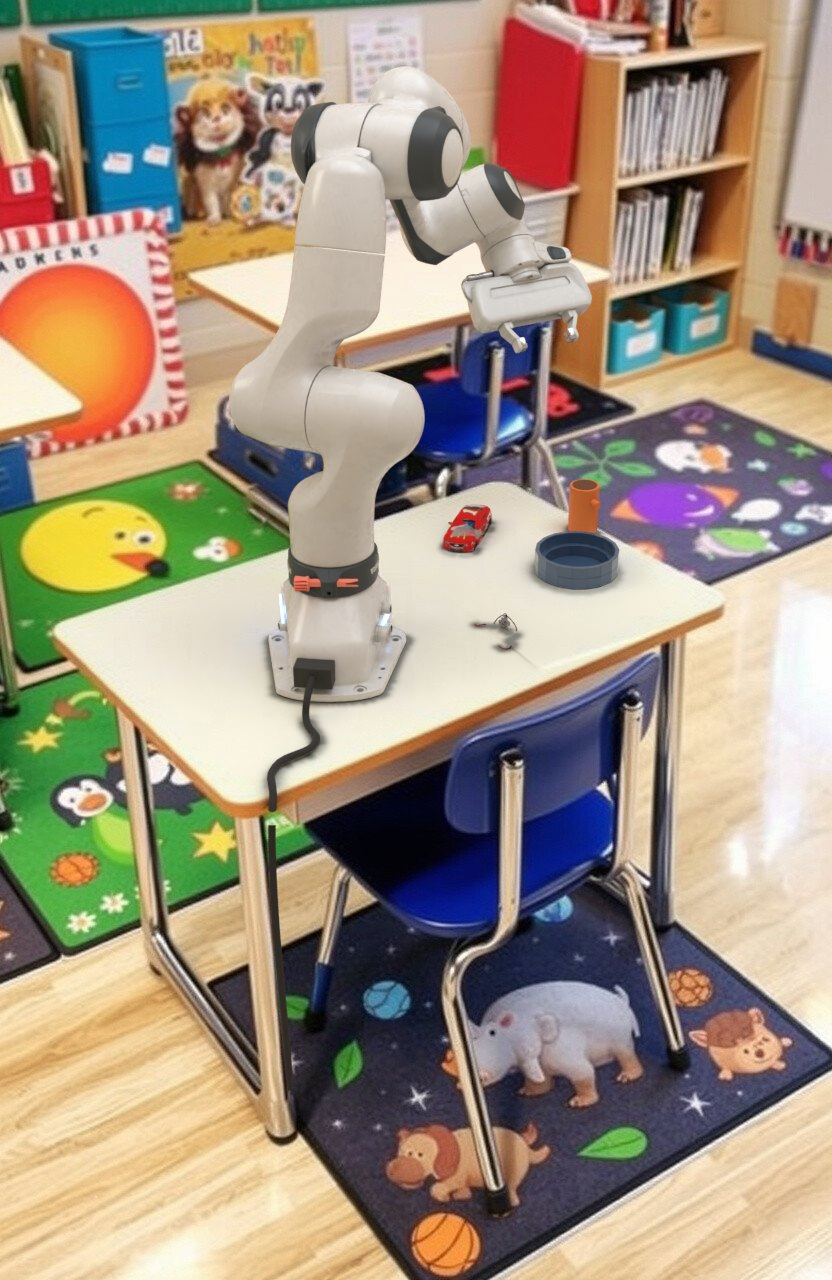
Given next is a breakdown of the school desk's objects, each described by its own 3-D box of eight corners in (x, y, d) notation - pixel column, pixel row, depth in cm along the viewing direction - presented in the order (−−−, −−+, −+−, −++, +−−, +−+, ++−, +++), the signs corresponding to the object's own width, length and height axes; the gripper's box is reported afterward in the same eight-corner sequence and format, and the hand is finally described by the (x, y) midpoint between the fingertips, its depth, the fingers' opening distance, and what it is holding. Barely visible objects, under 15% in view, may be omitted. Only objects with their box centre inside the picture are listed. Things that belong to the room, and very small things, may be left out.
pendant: (528, 641, 190) (529, 624, 189) (503, 651, 188) (503, 634, 187) (492, 618, 196) (492, 601, 194) (467, 627, 194) (467, 610, 192)
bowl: (622, 592, 202) (623, 568, 200) (536, 593, 202) (537, 568, 200) (614, 554, 212) (615, 530, 210) (532, 554, 213) (533, 531, 210)
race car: (472, 558, 212) (472, 535, 210) (438, 554, 213) (438, 530, 211) (497, 522, 222) (497, 499, 220) (464, 518, 224) (464, 495, 222)
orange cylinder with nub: (562, 529, 220) (563, 482, 216) (586, 522, 222) (588, 476, 218) (584, 544, 215) (586, 496, 211) (608, 537, 217) (611, 490, 213)
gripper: (464, 265, 209) (498, 346, 207) (577, 246, 218) (611, 324, 215) (449, 288, 215) (482, 367, 212) (560, 268, 223) (592, 344, 221)
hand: (548, 345), depth 214 cm, fingers open, 8 cm apart
